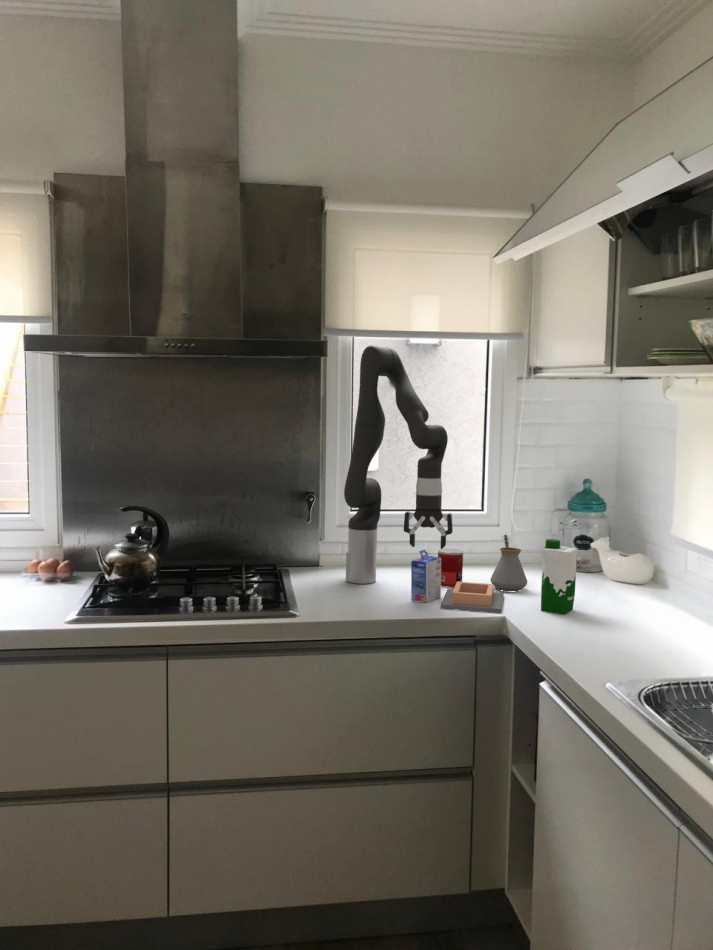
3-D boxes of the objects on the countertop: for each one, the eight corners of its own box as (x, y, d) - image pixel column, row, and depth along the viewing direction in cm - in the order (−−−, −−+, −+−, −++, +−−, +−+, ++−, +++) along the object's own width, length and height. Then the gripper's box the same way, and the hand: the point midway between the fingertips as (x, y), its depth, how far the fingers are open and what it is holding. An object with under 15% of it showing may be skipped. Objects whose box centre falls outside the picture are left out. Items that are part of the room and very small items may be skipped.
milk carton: (546, 604, 244) (549, 537, 242) (577, 609, 239) (580, 540, 237) (536, 611, 236) (539, 541, 234) (568, 616, 232) (571, 545, 230)
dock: (440, 608, 237) (440, 594, 236) (447, 592, 256) (448, 579, 256) (500, 613, 233) (501, 598, 233) (503, 596, 253) (504, 582, 252)
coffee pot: (529, 594, 256) (531, 546, 255) (491, 592, 257) (493, 545, 255) (521, 579, 277) (523, 534, 276) (486, 577, 278) (488, 533, 277)
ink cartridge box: (425, 594, 253) (426, 547, 252) (441, 597, 250) (443, 549, 249) (409, 600, 245) (410, 552, 243) (426, 603, 242) (427, 554, 240)
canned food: (461, 588, 262) (462, 553, 261) (436, 586, 264) (437, 552, 263) (462, 582, 270) (463, 549, 269) (437, 581, 271) (438, 547, 270)
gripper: (402, 493, 242) (401, 548, 244) (451, 495, 239) (450, 551, 241) (406, 490, 249) (405, 544, 251) (454, 492, 247) (453, 546, 248)
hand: (427, 547), depth 246 cm, fingers open, 8 cm apart
